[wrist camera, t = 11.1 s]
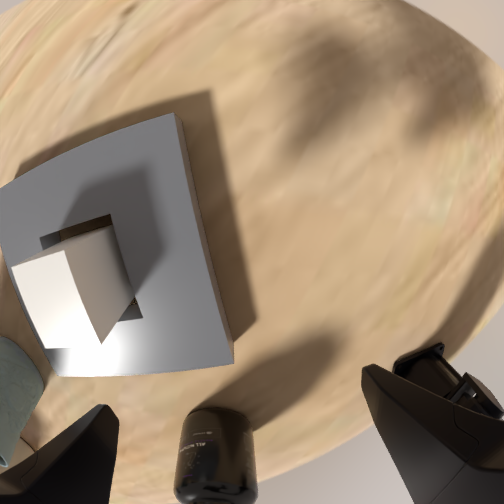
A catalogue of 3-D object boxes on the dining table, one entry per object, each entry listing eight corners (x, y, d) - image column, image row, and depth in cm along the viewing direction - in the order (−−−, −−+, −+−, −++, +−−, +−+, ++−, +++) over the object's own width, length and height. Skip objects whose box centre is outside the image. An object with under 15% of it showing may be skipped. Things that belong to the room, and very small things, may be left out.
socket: (181, 120, 15) (173, 112, 13) (233, 343, 20) (234, 363, 17) (9, 191, 15) (-11, 195, 13) (68, 360, 20) (57, 375, 17)
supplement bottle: (189, 398, 21) (175, 516, 10) (261, 412, 22) (278, 524, 11) (177, 436, 23) (165, 532, 11) (240, 447, 24) (246, 541, 12)
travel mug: (34, 446, 25) (3, 515, 7) (38, 460, 26) (12, 521, 9) (0, 421, 23) (-36, 484, 6) (6, 438, 25) (-23, 495, 8)
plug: (119, 222, 17) (64, 250, 10) (139, 290, 18) (101, 345, 12) (70, 237, 17) (11, 267, 10) (91, 299, 18) (45, 348, 11)
